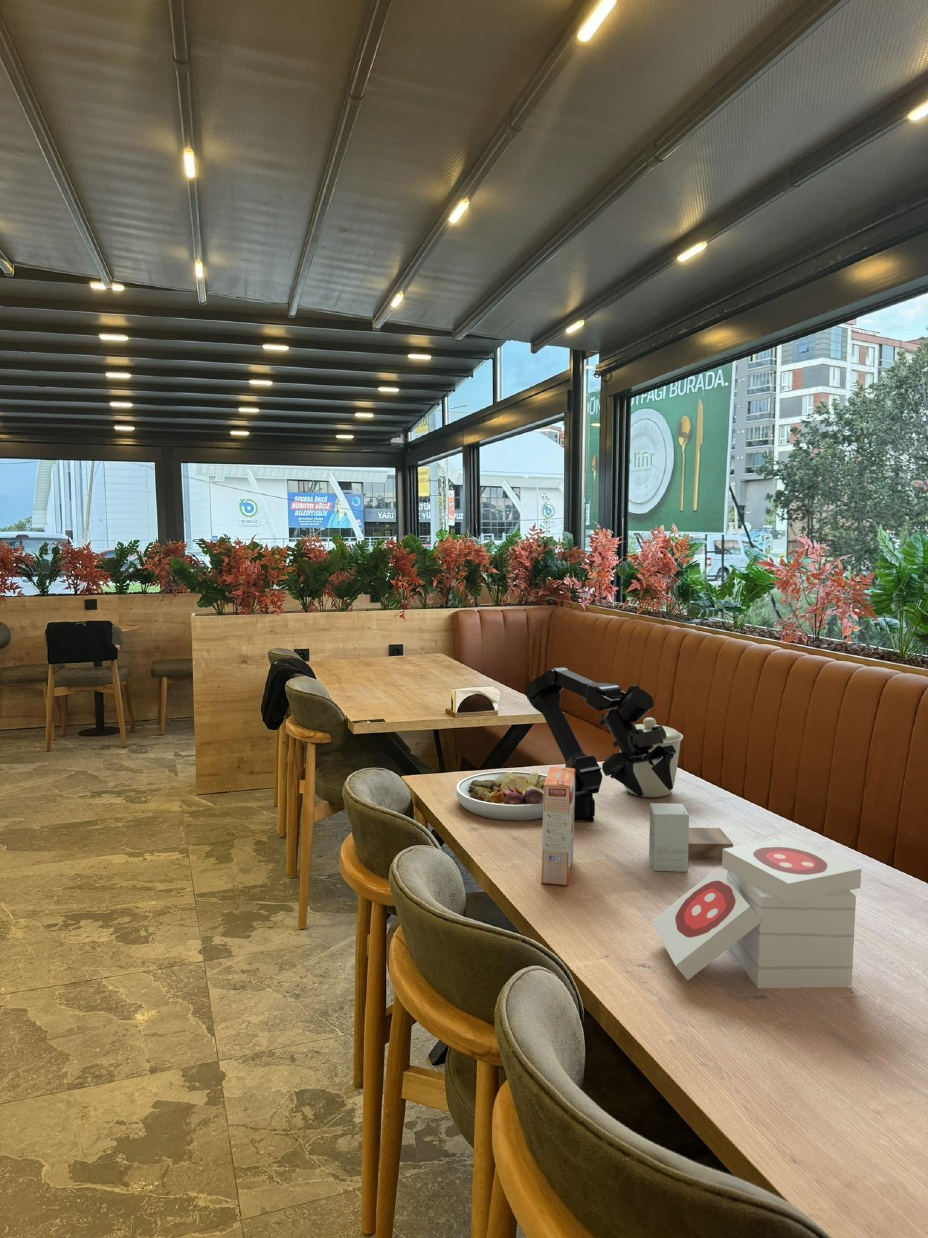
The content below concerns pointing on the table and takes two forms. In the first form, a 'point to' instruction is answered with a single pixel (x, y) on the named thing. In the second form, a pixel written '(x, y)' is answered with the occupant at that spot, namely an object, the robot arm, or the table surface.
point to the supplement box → (668, 837)
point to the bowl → (503, 795)
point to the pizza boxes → (769, 916)
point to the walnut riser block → (707, 843)
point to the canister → (643, 770)
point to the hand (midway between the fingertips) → (656, 792)
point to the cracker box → (558, 825)
